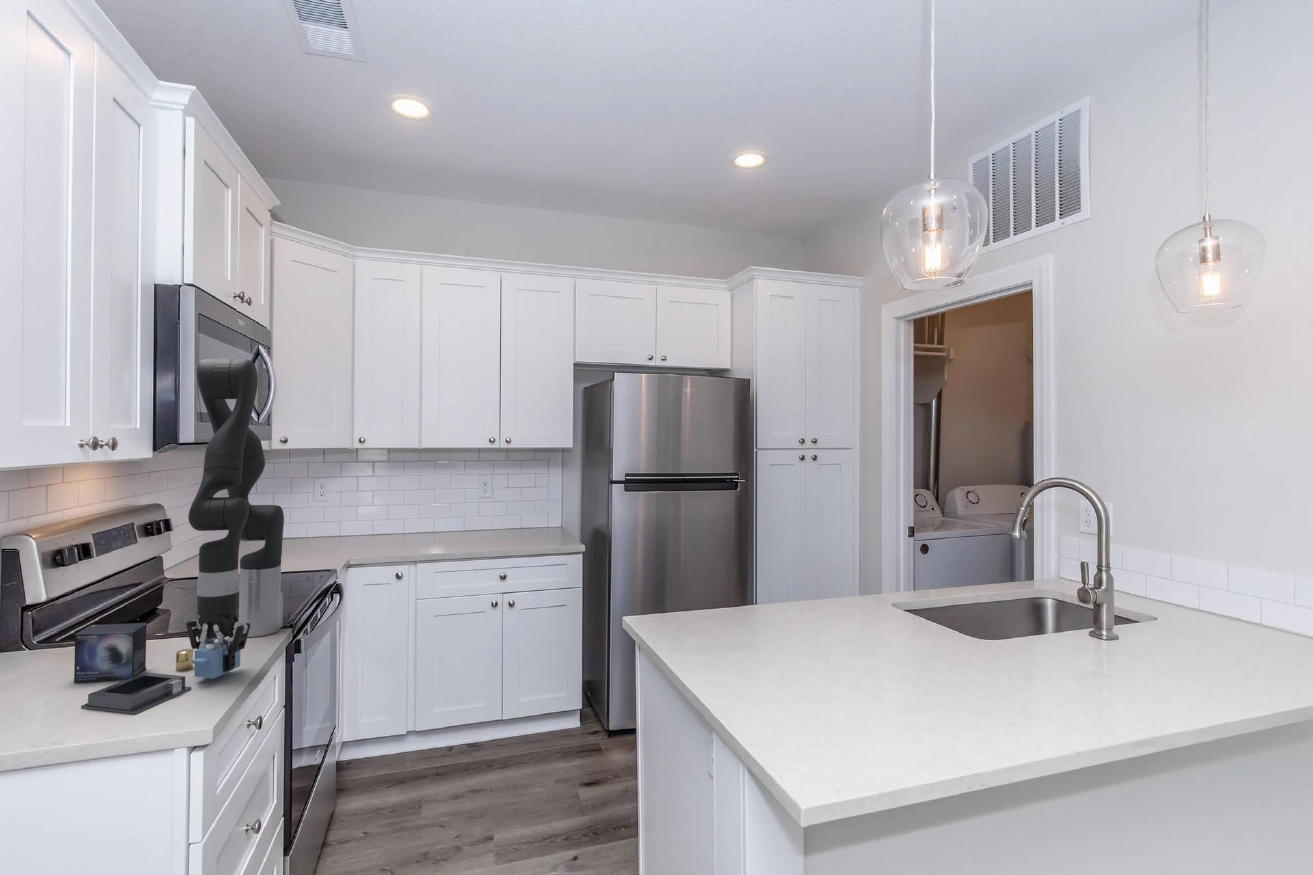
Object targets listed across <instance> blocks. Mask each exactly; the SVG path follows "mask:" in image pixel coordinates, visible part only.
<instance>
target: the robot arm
mask: <svg viewBox="0 0 1313 875" xmlns="http://www.w3.org/2000/svg"><path fill="white" fill-rule="evenodd" d="M196 382H197V385H198V389H199V392H200V396H201V398H202V401H203V404H204V407H205V409H206V412H207V415H208V418H209V422H210V424H211V428H212V432H213V436H212V437H211V438H210V440H209V442H208V444H207V445H206V449H205V452H204V460H203V472H202V479H201V481H200V485H199V487H198V489H197V490H198V491H197V492H196V495H195V497H194V499H193V500H192V503H191V506H190V508H189V511H188V515H187V516H188V523H189V525H190V526H191V527H192V528H193V530H195V531H199V532H209V531H211V532H213V531H227V534H226V536H225V537H223V538H220V539H216V540H212V541H211V540H210V541H208V542H205V543H203V544H201V545H200V546H199V550H198V575H197V576H198V577H197V582H196V583H197V584H196V587H197V588H196V589H197V590H196V593H197V594H196V614H197V615H198V618H196V619H192V620H190V621H187V622H186V624H185V626H186V629H187V634H188V638H189V643H190V647H191V649H193V650H197V649H200V648H203V647H206V644H209V643H215V641H216V640H217V642H218V643H219V645H221V646H222V649H223V654H224V655H223V672H226V673H228V671H229V672H231V671H233V670H234V669H233V668H234V667H235V653H236V652H237V651H239V650H240V651H241V650H244V649H245V646H246V643H247V640H248V637H249V638H250V637H252V638H254V637H263V636H267V635H268V636H269V635H272V634H274V633H277V632H278V631H280V629H281V628H283V621H284V620H283V619H284V616H283V612H284V610H283V608H284V592H283V591H281V590H282V589H281V588H282V586H281V585H282V582H281V580H282V579H281V578H282V554H283V536H284V525H285V514H284V510H283V508H282V507H281V505H278V504H251V503H250V502H249V494H250V493H251V490H252V489H253V487H254V486H255V484H256V483H257V481H258V480H259V478H260V477H261V476H262V475H263V472H264V470H265V466H266V459H265V455H264V454H265V453H264V449H263V444H262V441H261V439H260V437H259V436H258V435H257V434H256V433H255V432H254V431H253V430H252V429H251V428H250V423H251V418H252V414H253V410H254V406H255V402H256V397H257V392H258V383H259V378H258V371H257V367H256V365H255V363H253V361H252V360H250V359H248V358H203V359H201V360H200V361H199V362H198V364H197V366H196ZM227 400H235V404H234V407H233V409H232V410H231V408H230V406H229V404H228V403H227ZM224 490H227V495H228V496H222V497H221V496H219V497H218V496H217V497H216V496H215V495H216V494H217V493H219V492H222V491H224ZM214 496H215V497H214ZM241 541H249V542H251V541H265V542H264V545H263V547H262V548H260V549H258V550H256V551H253V552H250V553H245V554H244V555H242V556H241V557H239V554H240V552H239V551H240V544H241ZM239 558H240V559H239ZM237 613H238V616H237ZM197 639H198V640H197ZM228 643H229V645H230V648H229V646H228ZM232 669H233V670H232ZM230 670H231V671H230Z"/></svg>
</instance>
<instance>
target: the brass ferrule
mask: <svg viewBox="0 0 1313 875" xmlns="http://www.w3.org/2000/svg"><path fill="white" fill-rule="evenodd" d="M192 660H194V649H192V648H184V649H180V650H179V649H178V650H177V651H176V652H175V671H176V672H178V673H179V672H180V673H181V672H182V673H183V672H187V671H190V670H192V669H193V668H194V666H193V665H194V664H192Z"/></svg>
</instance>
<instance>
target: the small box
mask: <svg viewBox="0 0 1313 875" xmlns="http://www.w3.org/2000/svg"><path fill="white" fill-rule="evenodd" d="M147 626H148V623H147V622H137V623H136V622H133V623H113V624H110V623H109V624H108V623H107V624H91V625H89V626H88V627H85V628H84V629H82V630H81V631H78V632H77V633H75V634H74V671H73V672H74V673H73V674H74V677H73V683H74V684H78V683H93V682H95V683H97V682H98V683H99V682H111V681H112V682H115V681H124V680H127V679H129V678H132V677H134V676H137V675H140V674H142V673H144V671H146V670H147V666H146V665H147V664H146V662H147V661H146V658H147V655H146V654H147Z"/></svg>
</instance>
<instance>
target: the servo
mask: <svg viewBox="0 0 1313 875" xmlns="http://www.w3.org/2000/svg"><path fill="white" fill-rule="evenodd" d="M228 646H229V648H230V645H229V643H228ZM223 655H224V654H223V649H222V646H221V645H219V643H218V641H216V642H214V643H209V644H206V647H203V648H200V649H194V659H193V660H192V664H193V665H194V678H195V677H197V678H204V679H215V678H217V677H219V676H222V675H224V674H227V673H228V672H231V671H233V670H234V669H238V668H240V667H241V650H239V651H237V652H236V653H235V667H234V668H233V669H232V670H230V671H228V672H223Z"/></svg>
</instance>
